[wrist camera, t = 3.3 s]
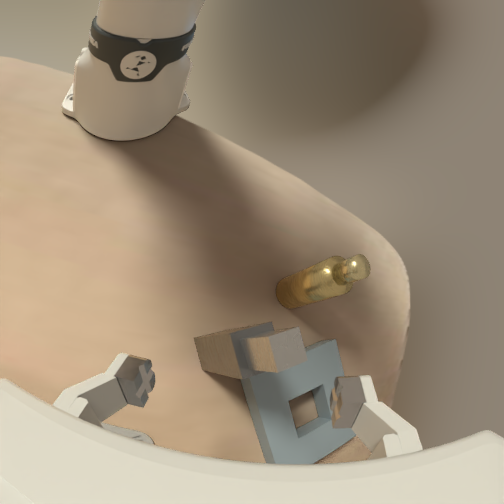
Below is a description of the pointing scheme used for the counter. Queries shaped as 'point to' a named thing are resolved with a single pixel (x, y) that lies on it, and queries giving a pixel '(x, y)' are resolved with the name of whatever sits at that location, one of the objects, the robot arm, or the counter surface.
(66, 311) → the counter surface
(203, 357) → the square bit
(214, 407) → the counter surface
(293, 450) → the socket plate
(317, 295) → the gold bottle
